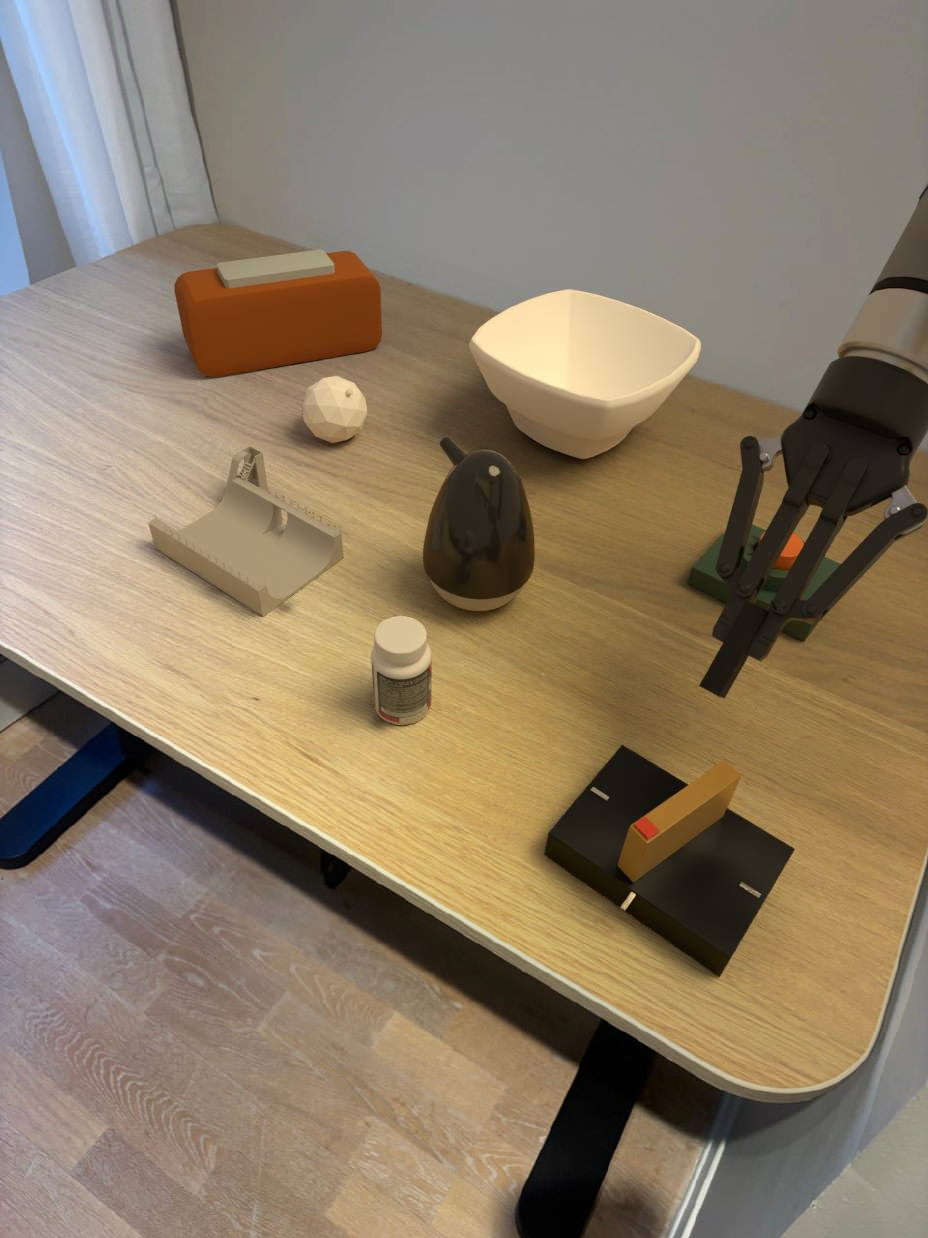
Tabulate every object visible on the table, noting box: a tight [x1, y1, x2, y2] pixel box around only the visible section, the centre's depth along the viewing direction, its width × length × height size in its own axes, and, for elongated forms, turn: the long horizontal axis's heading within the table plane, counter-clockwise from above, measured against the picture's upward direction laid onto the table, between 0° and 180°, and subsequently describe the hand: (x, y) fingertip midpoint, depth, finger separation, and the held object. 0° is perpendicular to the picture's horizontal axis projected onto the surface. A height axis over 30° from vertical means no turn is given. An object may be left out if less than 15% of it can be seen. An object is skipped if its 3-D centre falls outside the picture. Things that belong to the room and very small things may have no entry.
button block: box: [686, 523, 842, 642], centre depth 83 cm, size 12×10×4 cm
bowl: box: [468, 288, 702, 460], centre depth 98 cm, size 22×22×12 cm
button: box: [758, 532, 804, 570], centre depth 81 cm, size 4×4×2 cm
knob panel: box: [543, 744, 796, 978], centre depth 62 cm, size 14×13×3 cm
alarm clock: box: [173, 249, 383, 378], centre depth 110 cm, size 24×8×11 cm, turn 114°
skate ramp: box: [147, 445, 344, 617], centre depth 84 cm, size 15×13×5 cm
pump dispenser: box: [422, 436, 536, 612], centre depth 77 cm, size 10×10×15 cm
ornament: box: [301, 375, 368, 444], centre depth 97 cm, size 7×7×8 cm
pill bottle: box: [370, 615, 433, 726], centre depth 69 cm, size 5×5×8 cm
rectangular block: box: [618, 760, 742, 882], centre depth 59 cm, size 9×2×5 cm, turn 126°
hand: (712, 692), depth 59 cm, fingers closed
